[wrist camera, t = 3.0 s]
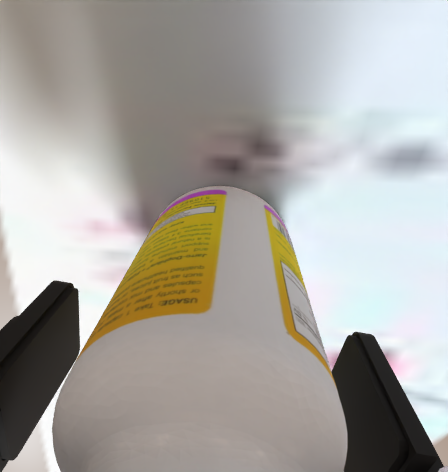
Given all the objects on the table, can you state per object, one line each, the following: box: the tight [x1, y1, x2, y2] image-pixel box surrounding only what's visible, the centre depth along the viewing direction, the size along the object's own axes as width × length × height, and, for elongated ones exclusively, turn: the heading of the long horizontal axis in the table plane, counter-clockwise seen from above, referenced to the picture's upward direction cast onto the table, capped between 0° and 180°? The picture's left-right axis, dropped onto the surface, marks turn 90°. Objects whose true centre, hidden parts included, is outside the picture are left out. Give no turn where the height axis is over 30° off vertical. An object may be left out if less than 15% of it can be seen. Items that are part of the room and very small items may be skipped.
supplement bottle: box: [52, 186, 347, 472], centre depth 10 cm, size 7×7×13 cm
